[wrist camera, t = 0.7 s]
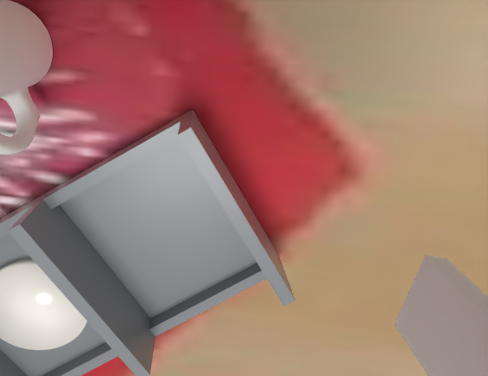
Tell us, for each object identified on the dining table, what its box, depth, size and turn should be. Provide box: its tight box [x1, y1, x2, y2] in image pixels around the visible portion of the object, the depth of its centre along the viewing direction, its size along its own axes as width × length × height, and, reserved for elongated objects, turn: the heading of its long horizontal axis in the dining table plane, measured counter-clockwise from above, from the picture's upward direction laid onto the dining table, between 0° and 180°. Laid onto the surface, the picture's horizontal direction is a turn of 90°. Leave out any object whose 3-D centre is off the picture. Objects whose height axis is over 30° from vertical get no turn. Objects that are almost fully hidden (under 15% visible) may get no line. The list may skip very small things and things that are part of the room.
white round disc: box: [0, 258, 87, 350], centre depth 36 cm, size 9×9×1 cm
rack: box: [0, 110, 295, 376], centre depth 34 cm, size 16×28×7 cm, turn 118°
